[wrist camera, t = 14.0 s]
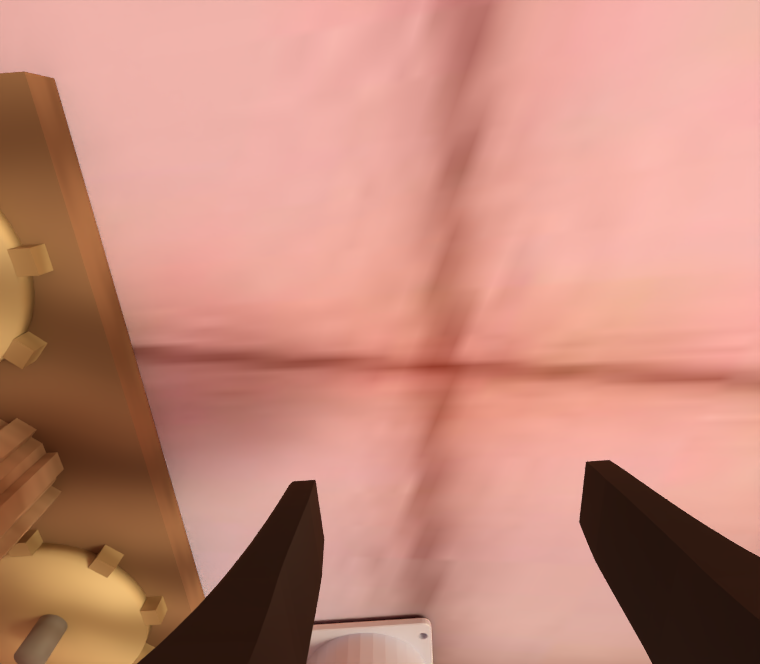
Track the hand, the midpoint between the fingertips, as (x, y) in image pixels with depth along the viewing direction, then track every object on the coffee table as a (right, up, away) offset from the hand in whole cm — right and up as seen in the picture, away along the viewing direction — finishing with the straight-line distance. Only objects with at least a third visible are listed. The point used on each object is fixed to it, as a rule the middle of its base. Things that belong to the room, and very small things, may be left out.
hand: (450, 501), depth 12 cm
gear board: (-19, -1, +10) cm, 21 cm away
